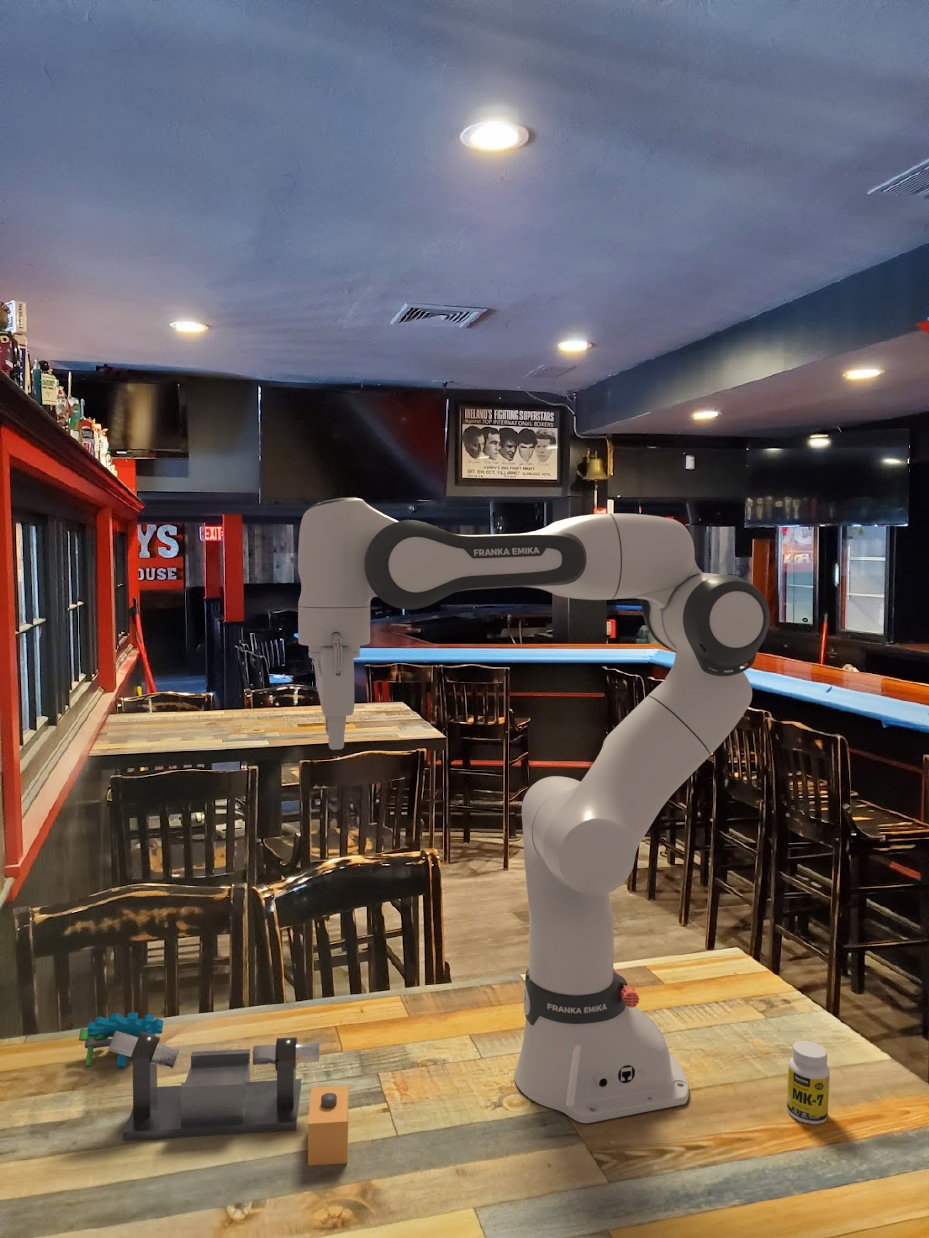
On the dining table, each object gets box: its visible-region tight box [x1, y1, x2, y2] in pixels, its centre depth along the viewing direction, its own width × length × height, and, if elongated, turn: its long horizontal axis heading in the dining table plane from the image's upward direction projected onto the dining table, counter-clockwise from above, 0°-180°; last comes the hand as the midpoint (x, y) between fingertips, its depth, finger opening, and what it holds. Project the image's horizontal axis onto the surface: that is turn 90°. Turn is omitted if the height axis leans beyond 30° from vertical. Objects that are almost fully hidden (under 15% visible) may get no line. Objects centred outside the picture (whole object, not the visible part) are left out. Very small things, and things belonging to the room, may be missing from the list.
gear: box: [78, 1012, 164, 1069], centre depth 121 cm, size 11×6×10 cm
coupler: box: [307, 1085, 349, 1167], centre depth 104 cm, size 7×4×6 cm, turn 7°
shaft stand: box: [107, 1031, 321, 1141], centre depth 110 cm, size 25×9×11 cm, turn 97°
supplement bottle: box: [786, 1040, 831, 1125], centre depth 111 cm, size 5×5×8 cm
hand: (334, 740), depth 111 cm, fingers open, 8 cm apart
